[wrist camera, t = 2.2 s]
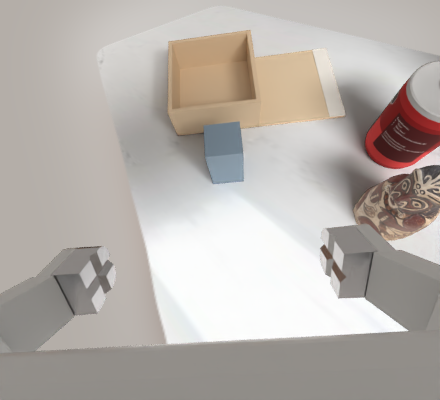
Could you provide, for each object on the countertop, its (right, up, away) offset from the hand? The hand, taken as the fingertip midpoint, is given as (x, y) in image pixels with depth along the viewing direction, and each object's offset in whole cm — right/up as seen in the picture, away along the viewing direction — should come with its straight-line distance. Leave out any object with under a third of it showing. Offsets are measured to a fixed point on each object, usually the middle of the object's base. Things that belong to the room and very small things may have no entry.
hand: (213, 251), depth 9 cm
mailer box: (+6, +20, +32) cm, 38 cm away
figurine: (+22, 0, +23) cm, 32 cm away
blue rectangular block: (+1, +7, +28) cm, 28 cm away
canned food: (+25, +10, +26) cm, 38 cm away
